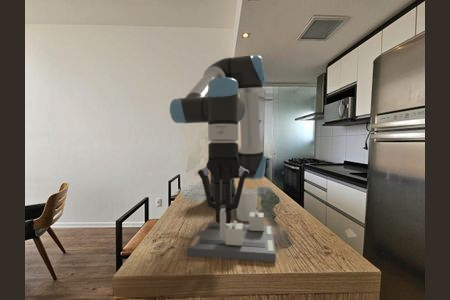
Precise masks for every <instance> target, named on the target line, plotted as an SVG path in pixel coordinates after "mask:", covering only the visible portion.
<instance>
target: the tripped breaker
mask: <svg viewBox="0 0 450 300" xmlns="http://www.w3.org/2000/svg"><path fill="white" fill-rule="evenodd" d="M243 224H244V223H241V222H240V223H239V222H238V221H237V220H233V222H230V224H228V223H227V226H226V228H225V243H226V245H241V246H242V242H243Z"/></svg>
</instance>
